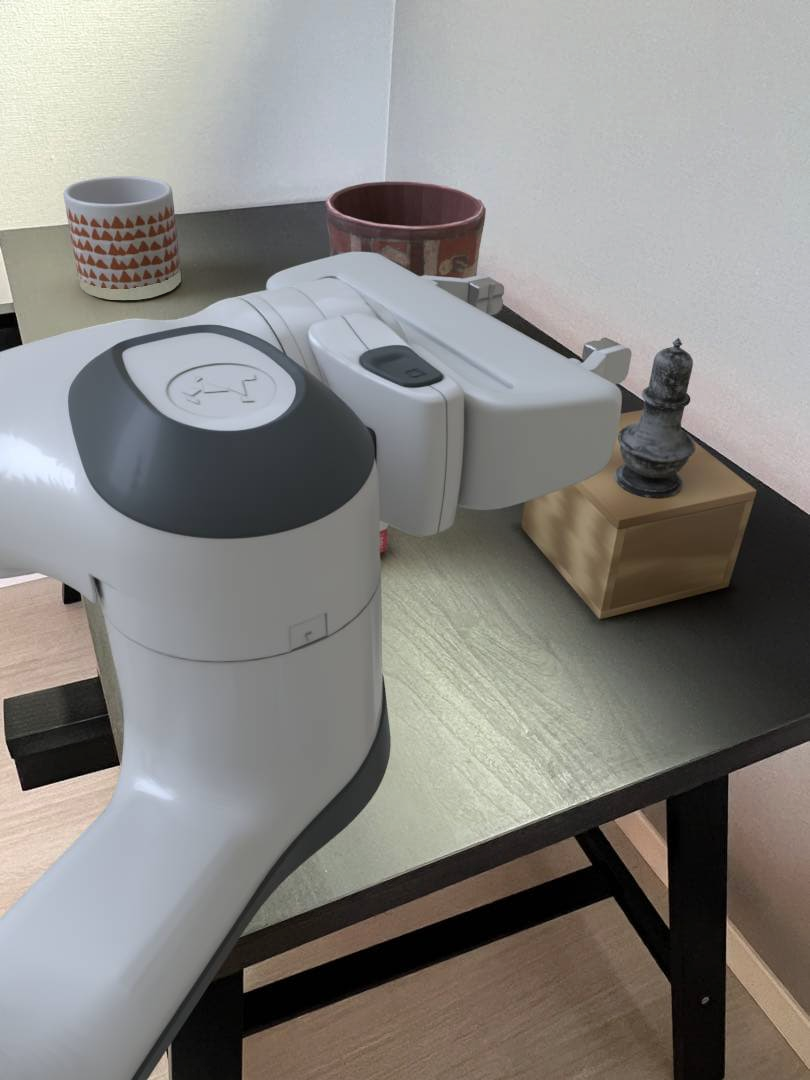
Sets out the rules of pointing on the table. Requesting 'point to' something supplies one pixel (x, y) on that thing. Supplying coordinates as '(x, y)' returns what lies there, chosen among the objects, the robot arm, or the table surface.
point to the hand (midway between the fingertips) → (553, 323)
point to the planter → (123, 231)
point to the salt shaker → (659, 430)
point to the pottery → (409, 226)
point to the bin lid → (700, 491)
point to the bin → (635, 551)
